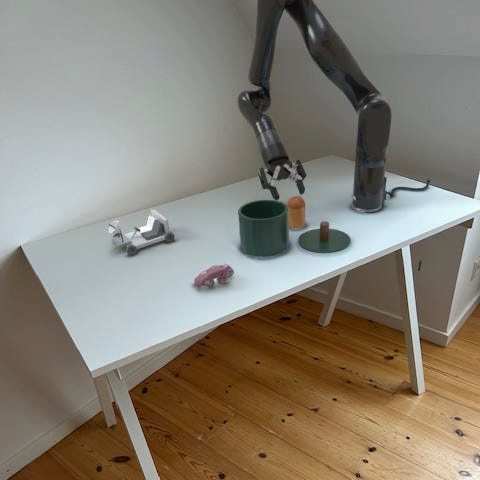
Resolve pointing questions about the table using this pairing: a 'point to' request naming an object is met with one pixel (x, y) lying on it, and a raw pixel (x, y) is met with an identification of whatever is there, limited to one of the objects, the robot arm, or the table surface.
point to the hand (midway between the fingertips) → (290, 196)
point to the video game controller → (214, 275)
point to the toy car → (142, 233)
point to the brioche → (296, 212)
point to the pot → (264, 228)
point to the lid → (324, 239)
